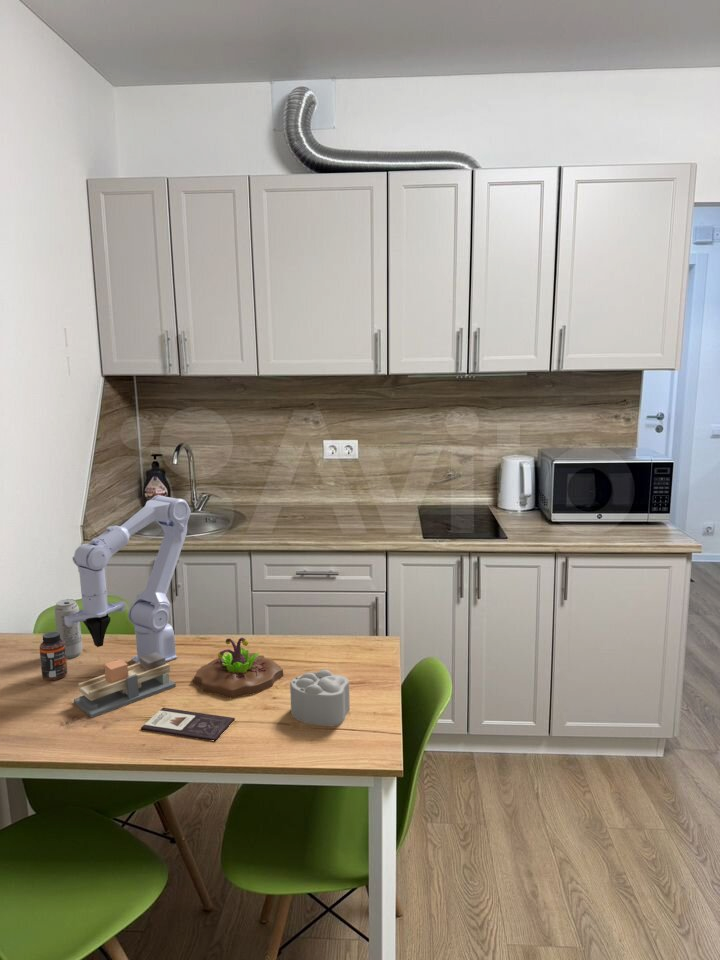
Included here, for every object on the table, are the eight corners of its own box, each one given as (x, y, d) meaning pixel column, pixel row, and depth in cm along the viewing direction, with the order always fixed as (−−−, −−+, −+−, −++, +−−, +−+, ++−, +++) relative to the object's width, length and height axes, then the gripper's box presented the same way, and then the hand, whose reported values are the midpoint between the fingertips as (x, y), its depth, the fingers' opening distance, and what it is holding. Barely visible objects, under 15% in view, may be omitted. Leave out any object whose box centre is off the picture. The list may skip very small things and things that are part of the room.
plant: (235, 706, 164) (233, 661, 162) (183, 682, 176) (180, 640, 174) (295, 674, 180) (294, 633, 178) (243, 655, 192) (241, 616, 190)
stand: (156, 673, 181) (154, 651, 180) (175, 686, 174) (174, 663, 173) (74, 702, 167) (71, 678, 166) (91, 717, 160) (89, 693, 158)
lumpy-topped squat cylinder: (339, 728, 154) (339, 691, 152) (283, 720, 157) (282, 684, 156) (352, 705, 164) (352, 670, 162) (299, 698, 167) (298, 664, 165)
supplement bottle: (58, 682, 177) (54, 639, 175) (37, 680, 178) (32, 638, 176) (72, 671, 182) (68, 630, 180) (52, 670, 184) (47, 628, 182)
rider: (121, 674, 171) (120, 659, 170) (128, 680, 168) (127, 664, 167) (105, 679, 168) (104, 664, 167) (112, 685, 165) (111, 669, 164)
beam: (157, 668, 179) (156, 650, 178) (170, 676, 175) (169, 658, 174) (79, 696, 165) (77, 677, 165) (91, 705, 161) (89, 686, 160)
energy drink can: (77, 648, 197) (72, 596, 194) (86, 654, 193) (81, 602, 190) (55, 654, 193) (50, 602, 190) (64, 661, 189) (58, 608, 186)
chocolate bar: (215, 739, 149) (140, 727, 154) (215, 743, 149) (141, 731, 154) (234, 717, 158) (163, 707, 163) (234, 721, 158) (163, 711, 163)
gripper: (70, 604, 164) (75, 659, 167) (129, 589, 174) (133, 641, 177) (58, 597, 169) (64, 650, 172) (117, 582, 179) (121, 633, 182)
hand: (98, 645), depth 174 cm, fingers closed
